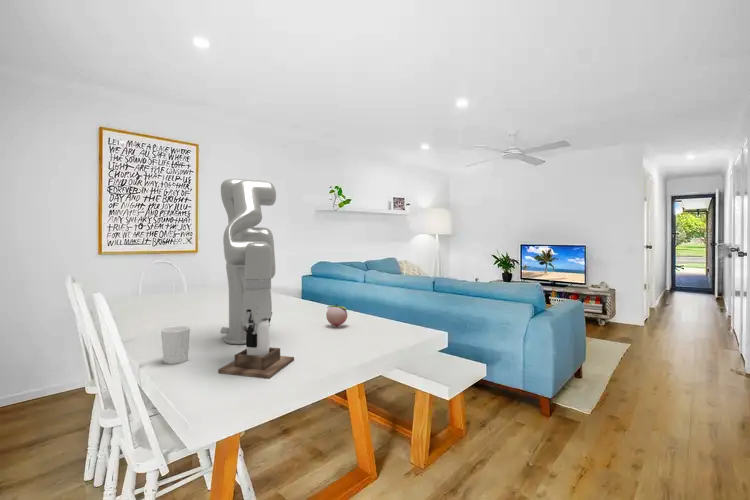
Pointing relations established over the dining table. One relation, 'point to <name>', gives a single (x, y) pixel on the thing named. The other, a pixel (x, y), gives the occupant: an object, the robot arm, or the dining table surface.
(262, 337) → the can
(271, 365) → the box
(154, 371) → the dining table surface
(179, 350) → the white cup
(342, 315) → the decorative fruit
